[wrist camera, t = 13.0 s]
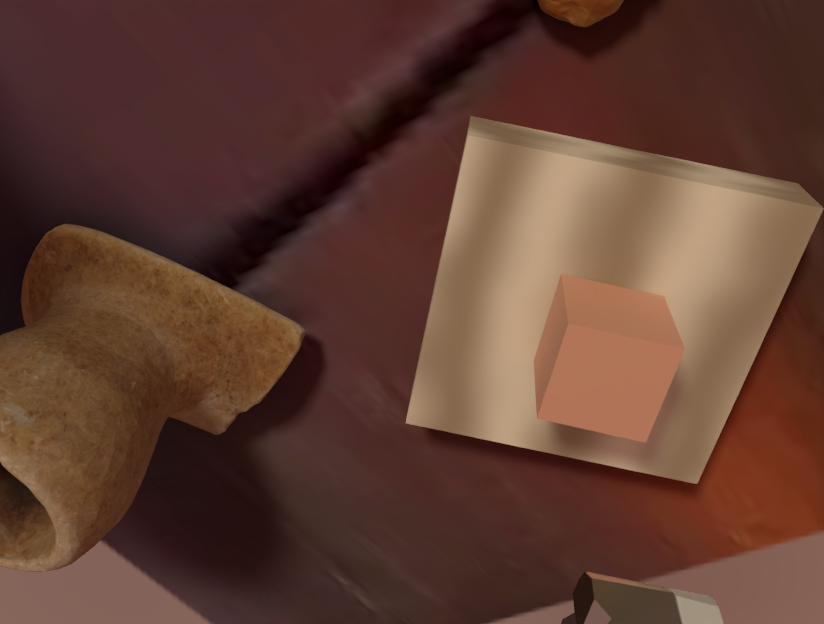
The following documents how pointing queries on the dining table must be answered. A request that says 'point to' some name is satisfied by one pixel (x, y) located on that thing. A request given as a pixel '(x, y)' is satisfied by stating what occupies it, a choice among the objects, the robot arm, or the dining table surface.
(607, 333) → the terracotta block
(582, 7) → the pastry
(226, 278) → the dining table surface
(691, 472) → the birch base
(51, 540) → the cork boot vase
